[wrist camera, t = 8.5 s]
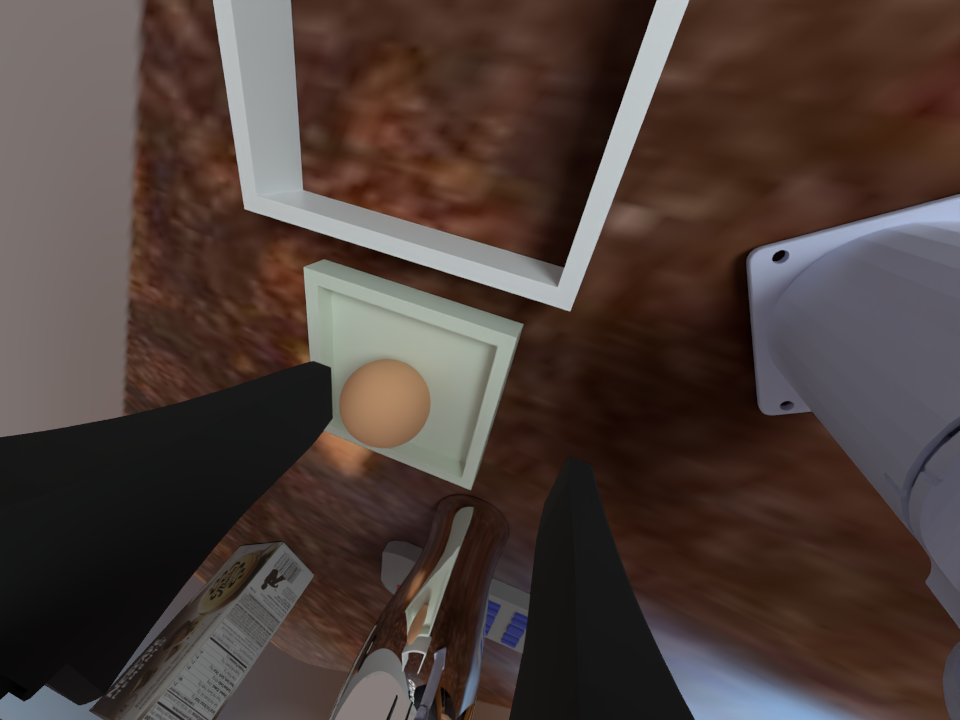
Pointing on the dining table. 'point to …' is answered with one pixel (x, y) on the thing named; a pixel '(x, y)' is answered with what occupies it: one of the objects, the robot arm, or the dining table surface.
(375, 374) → the ball
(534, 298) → the white bent bar
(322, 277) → the tray
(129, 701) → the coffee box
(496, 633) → the remote control
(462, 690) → the beer glass
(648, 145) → the dining table surface
